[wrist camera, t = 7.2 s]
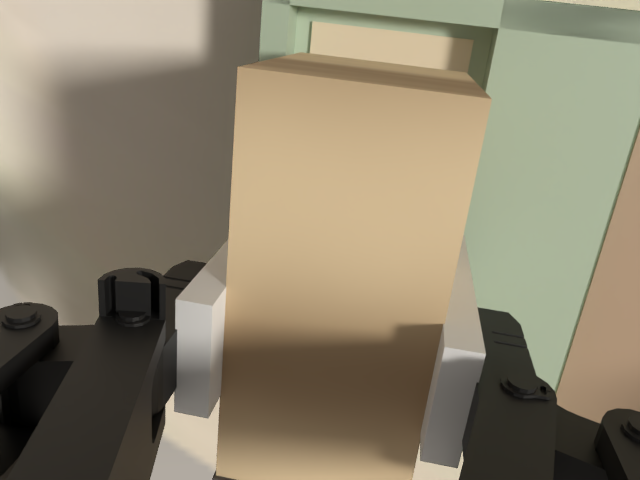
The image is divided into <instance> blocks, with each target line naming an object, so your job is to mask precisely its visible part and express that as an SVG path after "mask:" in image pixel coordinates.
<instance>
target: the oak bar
mask: <svg viewBox="0 0 640 480" xmlns="http://www.w3.org/2000/svg"><path fill="white" fill-rule="evenodd" d="M491 102H492V98H491V97H490V96H489V95H488V94H487V93H486V92H485V91H484V90H483V89H482V88H481V87H480V86H479V85H478V84H477V83H476V82H475V81H474V80H473V79H472V78H471V77H470V76H469V75H468V74H467V73H466V72H459V71H451V70H442V69H434V68H426V67H418V66H410V65H402V64H393V63H385V62H377V61H369V60H361V59H353V58H344V57H336V56H328V55H320V54H312V53H304V52H300V53H295V54H291V55H287V56H282V57H278V58H273V59H269V60H265V61H260V62H256V63H252V64H247V65H243V66H238V67H237V86H236V105H235V124H234V142H233V161H232V180H231V199H230V218H229V237H228V256H227V275H226V303H225V323H224V342H223V361H222V380H221V395H220V408H219V426H218V445H217V464H216V471H215V474H214V476H213V478H212V480H412V477H413V473H414V468H415V463H416V458H417V454H418V449H419V444H420V433H421V428H422V423H423V419H424V414H425V409H426V404H427V400H428V395H429V390H430V385H431V380H432V376H433V371H434V366H435V361H436V356H437V352H438V347H439V342H440V337H441V332H442V328H443V324H445V320H446V316H447V311H448V306H449V301H450V297H451V292H452V287H453V282H454V278H455V273H456V268H457V263H458V259H459V254H460V249H461V244H462V240H463V235H464V230H465V225H466V221H467V216H468V211H469V206H470V202H471V197H472V192H473V187H474V183H475V178H476V173H477V168H478V164H479V159H480V154H481V149H482V145H483V140H484V135H485V130H486V126H487V121H488V116H489V111H490V107H491Z"/></svg>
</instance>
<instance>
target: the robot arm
mask: <svg viewBox="0 0 640 480" xmlns="http://www.w3.org/2000/svg"><path fill="white" fill-rule="evenodd" d="M227 256H228V240H227V241H226V242H225V243H224V244H223V245H222V246H221V248H220V249H219V250H218V251H217V252H216V253H215V255H214V256H213V257H212V258H211V259H210V260H209V261H208V263H202V262H196V261H190V260H187V261H185V262H183V263H180V264H178V265H176V266H173V267H172V268H171V269H170V270H169V271H168V272H167V273H166V274H165V275H164V276H162V275H161V274H160V273H158V272H156V271H153V270H150V269H143V268H124V269H119V270H114V271H111V272H109V273H106V274H104V275H103V276H102V277H101V278H99V279H98V295H99V318H98V320H97V321H96V323H95V325H82V326H59V325H58V312H57V311H56V310H55V309H54V308H52V307H50V306H47V305H44V304H38V303H31V302H27V303H23V304H22V303H17V304H14V305H11V306H7V307H4V308H1V309H0V480H150V477H151V473H152V469H153V466H154V462H155V458H156V455H157V451H158V447H159V444H160V440H161V437H162V433H163V429H164V426H165V404H166V403H167V401H168V400H169V398H170V397H171V395H172V394H173V392H174V391H175V397H174V412H178V413H183V414H188V415H194V416H199V417H204V418H209V416H210V414H211V412H212V410H213V409H214V407H215V405H216V403H217V401H218V399H219V397H220V395H221V380H222V361H223V342H224V323H225V303H226V275H227ZM462 449H463V459H464V462H463V466H462V470H461V473H460V477H459V480H640V412H639V411H635V410H632V409H621V408H616V409H612V410H609V411H607V412H606V413H605V415H604V416H603V417H602V420H601V423H597V422H595V421H592V420H589V419H587V418H584V417H582V416H579V415H576V414H574V413H572V412H570V411H567V410H566V409H564V408H562V407H560V406H559V405H557V397H556V394H555V391H554V390H553V389H552V388H551V386H550V385H549V384H548V383H547V382H545V381H544V380H542V379H541V378H539V377H538V376H536V372H535V369H534V366H533V363H532V360H531V356H530V353H529V350H528V349H527V344H526V340H525V339H524V334H523V331H522V327H521V324H520V323H519V322H518V321H517V320H516V319H515V318H514V317H513V316H512V315H511V314H510V313H509V312H503V311H497V310H491V309H485V308H479V307H477V302H476V297H475V291H474V286H473V280H472V275H471V269H470V264H469V258H468V253H467V248H466V242H465V237H464V235H463V240H462V244H461V249H460V254H459V259H458V263H457V268H456V273H455V278H454V282H453V287H452V292H451V297H450V301H449V306H448V311H447V316H446V320H445V324H443V328H442V332H441V337H440V342H439V347H438V352H437V356H436V361H435V366H434V371H433V376H432V380H431V385H430V390H429V395H428V400H427V404H426V409H425V414H424V419H423V423H422V428H421V433H420V461H424V462H429V463H434V464H439V465H444V466H449V467H454V468H458V465H459V461H460V457H461V453H462Z"/></svg>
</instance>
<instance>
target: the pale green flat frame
mask: <svg viewBox="0 0 640 480" xmlns="http://www.w3.org/2000/svg"><path fill="white" fill-rule="evenodd" d="M300 52H304V53H312V54H320V55H328V56H336V57H344V58H353V59H361V60H369V61H377V62H385V63H393V64H402V65H410V66H418V67H426V68H434V69H442V70H451V71H459V72H466V73H467V74H468V75H469V76H470V77H471V78H472V79H473V80H474V81H475V82H476V83H477V84H478V85H479V86H480V87H481V88H482V89H483V90H484V91H485V92H486V93H487V94H488V95H489V96H490V97H491V98H492V102H491V107H490V111H489V116H488V121H487V126H486V130H485V135H484V140H483V145H482V149H481V154H480V159H479V164H478V168H477V173H476V178H475V183H474V187H473V192H472V197H471V202H470V206H469V211H468V216H467V221H466V225H465V230H464V237H465V242H466V248H467V253H468V258H469V264H470V269H471V275H472V280H473V286H474V291H475V297H476V302H477V307H479V308H485V309H491V310H497V311H503V312H509V313H510V314H511V315H512V316H513V317H514V318H515V319H516V320H517V321H518V322H519V323H520V324H521V327H522V331H523V334H524V339H525V340H526V344H527V349H528V350H529V353H530V356H531V360H532V363H533V366H534V369H535V372H536V376H538V377H539V378H541V379H542V380H544V381H545V382H547V383H548V384H549V385H550V386H551V388H552V389H553V390H554V391H555V394H556V397H557V405H559V406H560V407H562V408H564V409H566V410H567V411H570V412H572V413H574V414H576V415H579V416H582V417H584V418H587V419H589V420H592V421H595V422H597V423H601V420H602V417H603V416H604V415H605V413H606V412H607V411H609V410H612V409H616V408H621V409H632V410H635V411H639V412H640V11H636V10H627V9H617V8H608V7H599V6H589V5H580V4H570V3H561V2H552V1H542V0H262V14H261V30H260V47H259V62H260V61H265V60H269V59H273V58H278V57H282V56H287V55H291V54H295V53H300ZM462 451H463V449H462Z"/></svg>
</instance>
